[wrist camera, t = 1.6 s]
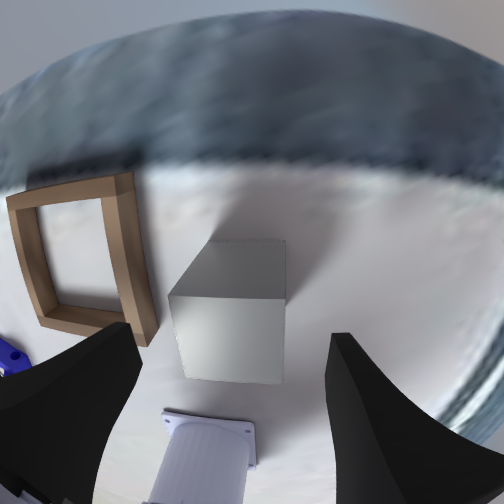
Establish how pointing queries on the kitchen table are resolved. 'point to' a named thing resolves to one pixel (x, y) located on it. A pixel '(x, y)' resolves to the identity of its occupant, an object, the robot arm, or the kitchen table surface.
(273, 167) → the kitchen table surface
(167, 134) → the kitchen table surface
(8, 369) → the cable clip
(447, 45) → the kitchen table surface
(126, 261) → the brown square frame
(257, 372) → the grey block
